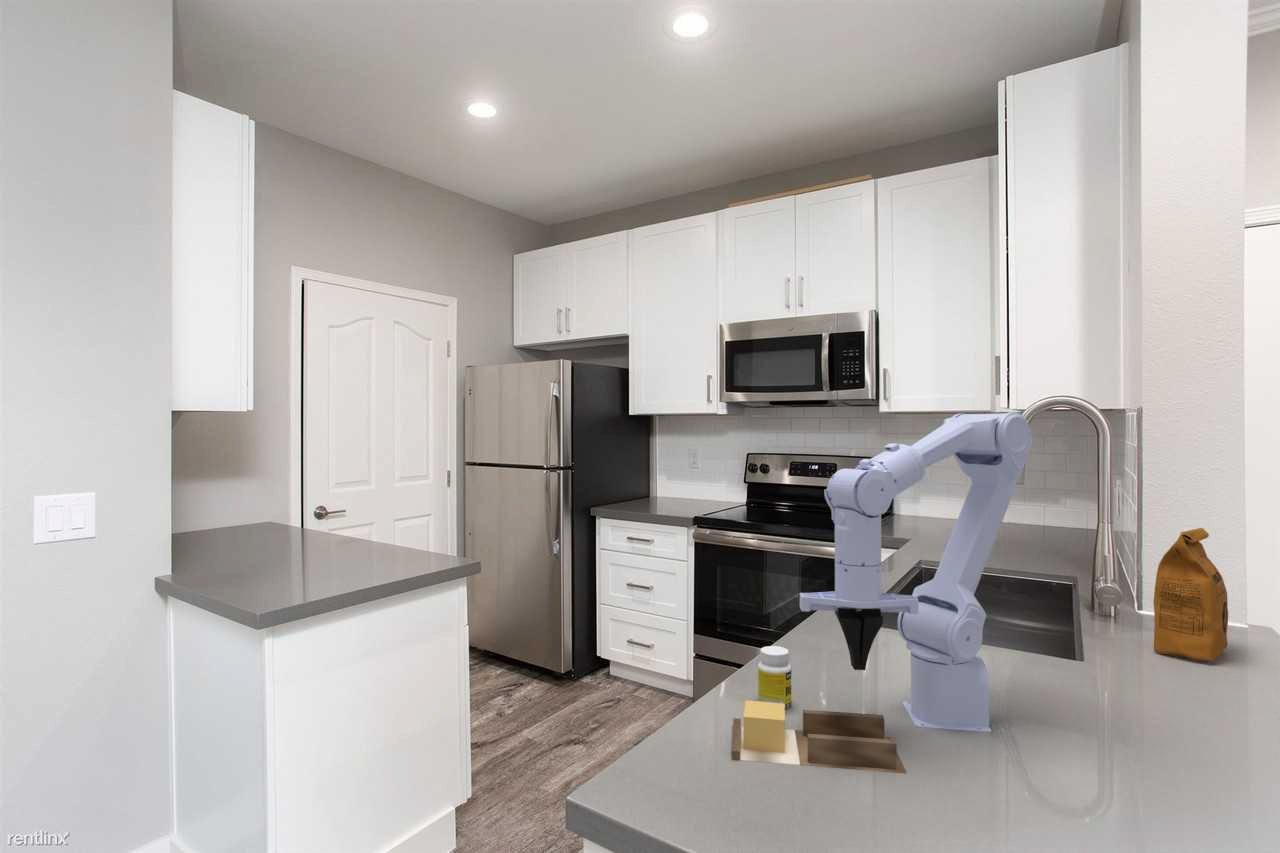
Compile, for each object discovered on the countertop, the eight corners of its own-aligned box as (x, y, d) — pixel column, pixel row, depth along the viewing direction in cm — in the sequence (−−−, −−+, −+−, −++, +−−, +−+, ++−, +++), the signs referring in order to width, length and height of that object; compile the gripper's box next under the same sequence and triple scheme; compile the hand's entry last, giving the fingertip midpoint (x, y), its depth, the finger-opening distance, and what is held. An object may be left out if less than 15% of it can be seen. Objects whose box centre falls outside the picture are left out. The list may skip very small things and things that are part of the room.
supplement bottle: (792, 717, 91) (791, 657, 91) (757, 714, 92) (757, 654, 92) (791, 703, 96) (790, 645, 96) (758, 700, 97) (758, 643, 97)
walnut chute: (890, 740, 84) (889, 713, 84) (906, 777, 76) (906, 747, 76) (733, 729, 88) (733, 703, 88) (731, 763, 79) (731, 734, 79)
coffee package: (1239, 654, 116) (1239, 530, 116) (1215, 669, 109) (1214, 537, 109) (1170, 639, 124) (1170, 523, 124) (1143, 652, 117) (1143, 529, 117)
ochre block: (784, 734, 85) (784, 703, 85) (784, 753, 80) (784, 720, 80) (745, 730, 86) (745, 700, 86) (743, 748, 81) (743, 716, 81)
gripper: (906, 556, 88) (906, 658, 88) (796, 555, 89) (796, 654, 89) (923, 568, 81) (924, 678, 81) (804, 565, 82) (804, 674, 82)
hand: (858, 667), depth 85 cm, fingers closed
